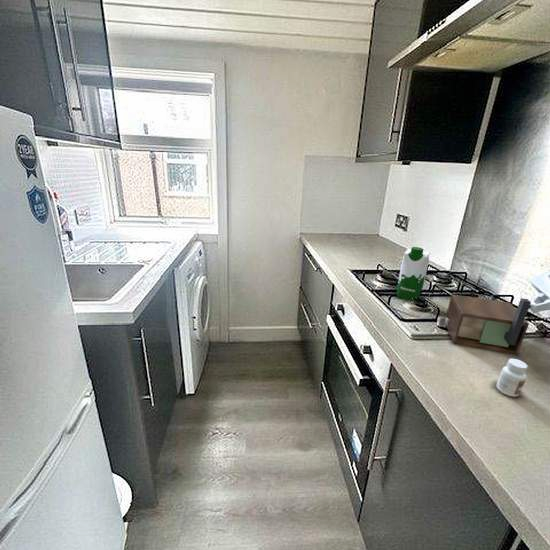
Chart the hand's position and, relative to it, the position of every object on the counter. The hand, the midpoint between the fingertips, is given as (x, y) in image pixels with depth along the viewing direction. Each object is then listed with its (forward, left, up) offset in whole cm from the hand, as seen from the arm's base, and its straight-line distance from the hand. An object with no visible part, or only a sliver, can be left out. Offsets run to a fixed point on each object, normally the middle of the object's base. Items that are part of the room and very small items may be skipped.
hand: (529, 309), depth 78 cm
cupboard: (+6, -9, -15) cm, 18 cm away
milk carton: (+24, -32, -15) cm, 43 cm away
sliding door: (+4, -1, -13) cm, 14 cm away
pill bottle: (+6, +16, -15) cm, 23 cm away
